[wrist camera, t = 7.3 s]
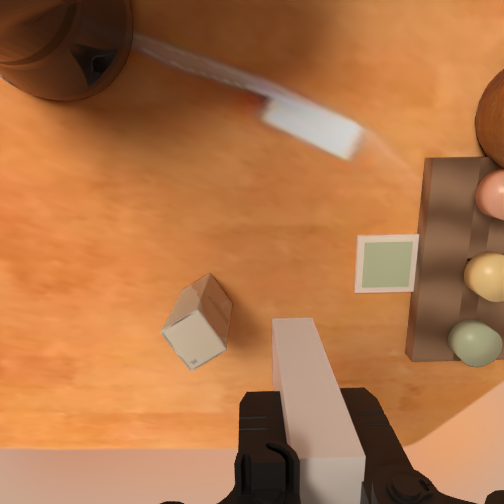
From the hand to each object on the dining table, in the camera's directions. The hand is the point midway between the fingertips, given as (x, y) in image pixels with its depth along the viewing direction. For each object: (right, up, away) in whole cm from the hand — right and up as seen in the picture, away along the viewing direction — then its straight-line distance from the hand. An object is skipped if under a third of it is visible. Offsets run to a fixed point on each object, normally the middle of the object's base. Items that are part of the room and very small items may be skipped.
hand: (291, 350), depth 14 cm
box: (-7, -2, +31) cm, 32 cm away
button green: (+24, -6, +32) cm, 40 cm away
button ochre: (+24, +2, +28) cm, 37 cm away
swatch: (+14, +2, +30) cm, 33 cm away
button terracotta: (+24, +10, +26) cm, 36 cm away
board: (+24, +3, +30) cm, 38 cm away
